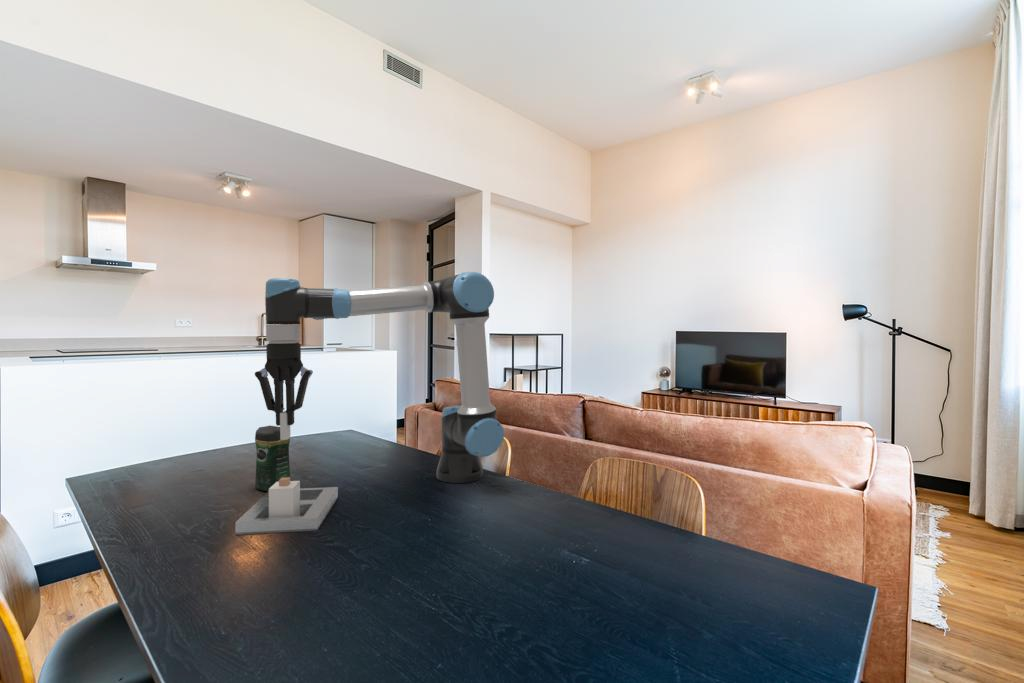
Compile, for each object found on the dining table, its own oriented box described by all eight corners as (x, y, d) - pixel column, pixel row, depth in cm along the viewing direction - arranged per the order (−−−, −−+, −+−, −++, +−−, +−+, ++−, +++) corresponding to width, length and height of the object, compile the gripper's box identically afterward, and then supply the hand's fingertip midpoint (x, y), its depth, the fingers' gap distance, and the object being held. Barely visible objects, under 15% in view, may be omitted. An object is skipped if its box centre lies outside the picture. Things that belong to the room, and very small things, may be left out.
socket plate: (337, 497, 132) (337, 486, 132) (317, 530, 110) (317, 518, 110) (270, 500, 129) (270, 489, 129) (235, 535, 108) (235, 522, 108)
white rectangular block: (300, 515, 118) (299, 474, 117) (293, 525, 112) (292, 481, 112) (277, 517, 117) (276, 475, 117) (268, 526, 111) (268, 482, 111)
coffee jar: (295, 486, 141) (295, 425, 141) (271, 494, 134) (271, 430, 134) (274, 481, 146) (274, 422, 145) (250, 489, 139) (250, 427, 138)
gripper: (315, 341, 118) (317, 433, 119) (261, 342, 116) (263, 435, 117) (307, 342, 111) (309, 441, 111) (248, 343, 109) (250, 443, 109)
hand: (285, 438), depth 114 cm, fingers closed
